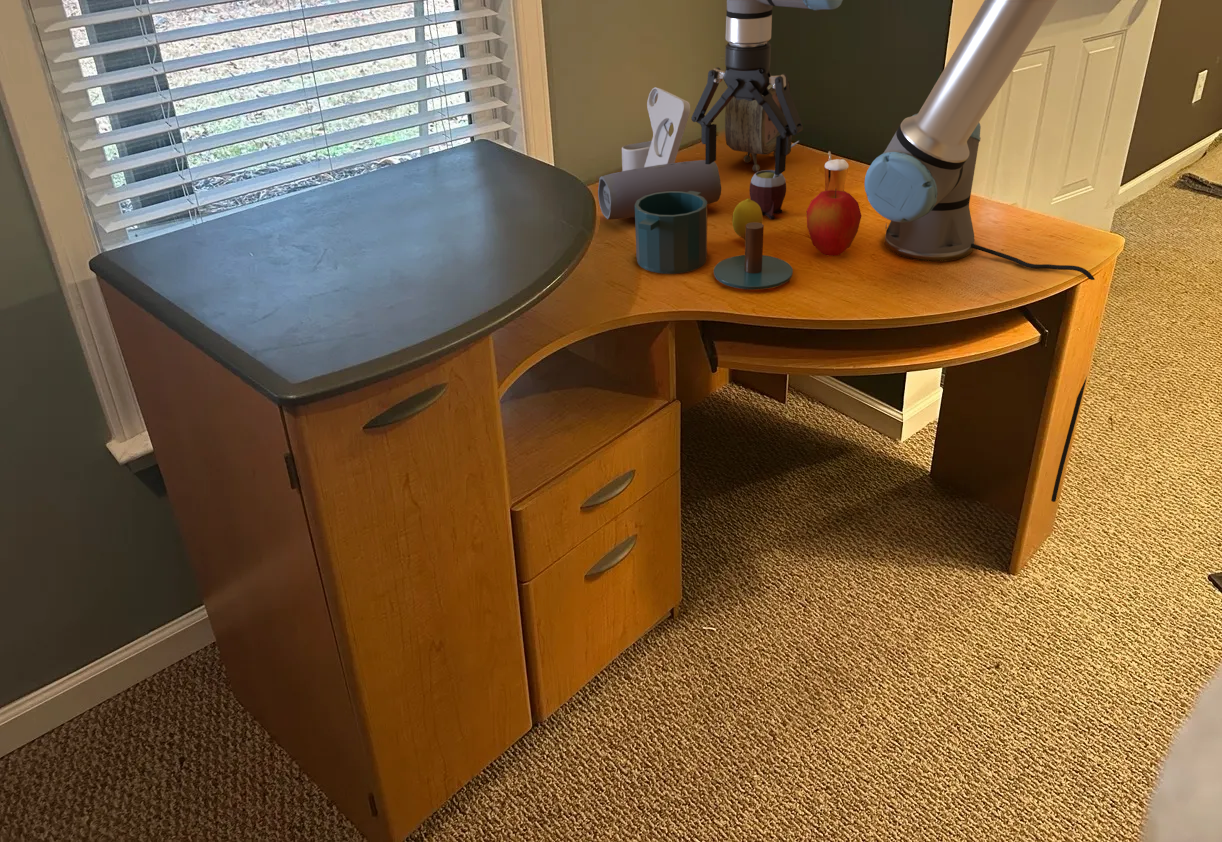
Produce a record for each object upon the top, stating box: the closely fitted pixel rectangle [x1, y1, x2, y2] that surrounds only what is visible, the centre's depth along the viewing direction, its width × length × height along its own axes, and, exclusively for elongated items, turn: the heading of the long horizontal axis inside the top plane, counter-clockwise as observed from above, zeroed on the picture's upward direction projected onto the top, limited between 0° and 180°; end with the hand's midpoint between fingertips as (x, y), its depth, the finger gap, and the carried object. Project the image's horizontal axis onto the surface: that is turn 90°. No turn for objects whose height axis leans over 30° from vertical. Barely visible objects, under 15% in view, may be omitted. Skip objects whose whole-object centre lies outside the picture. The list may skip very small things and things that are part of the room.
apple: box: [805, 189, 862, 257], centre depth 172 cm, size 9×9×12 cm
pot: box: [634, 191, 708, 275], centre depth 173 cm, size 12×18×10 cm
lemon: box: [731, 198, 764, 240], centre depth 180 cm, size 6×6×8 cm
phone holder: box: [621, 87, 691, 172], centre depth 207 cm, size 17×10×18 cm, turn 23°
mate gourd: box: [749, 140, 800, 220], centre depth 189 cm, size 8×8×15 cm
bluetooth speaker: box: [597, 159, 722, 220], centre depth 192 cm, size 23×9×10 cm, turn 108°
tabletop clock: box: [724, 80, 791, 173], centre depth 213 cm, size 14×9×25 cm, turn 147°
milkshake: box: [824, 150, 850, 191], centre depth 193 cm, size 5×5×10 cm
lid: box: [713, 222, 794, 291], centre depth 166 cm, size 13×13×9 cm
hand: (744, 167), depth 175 cm, fingers open, 13 cm apart
